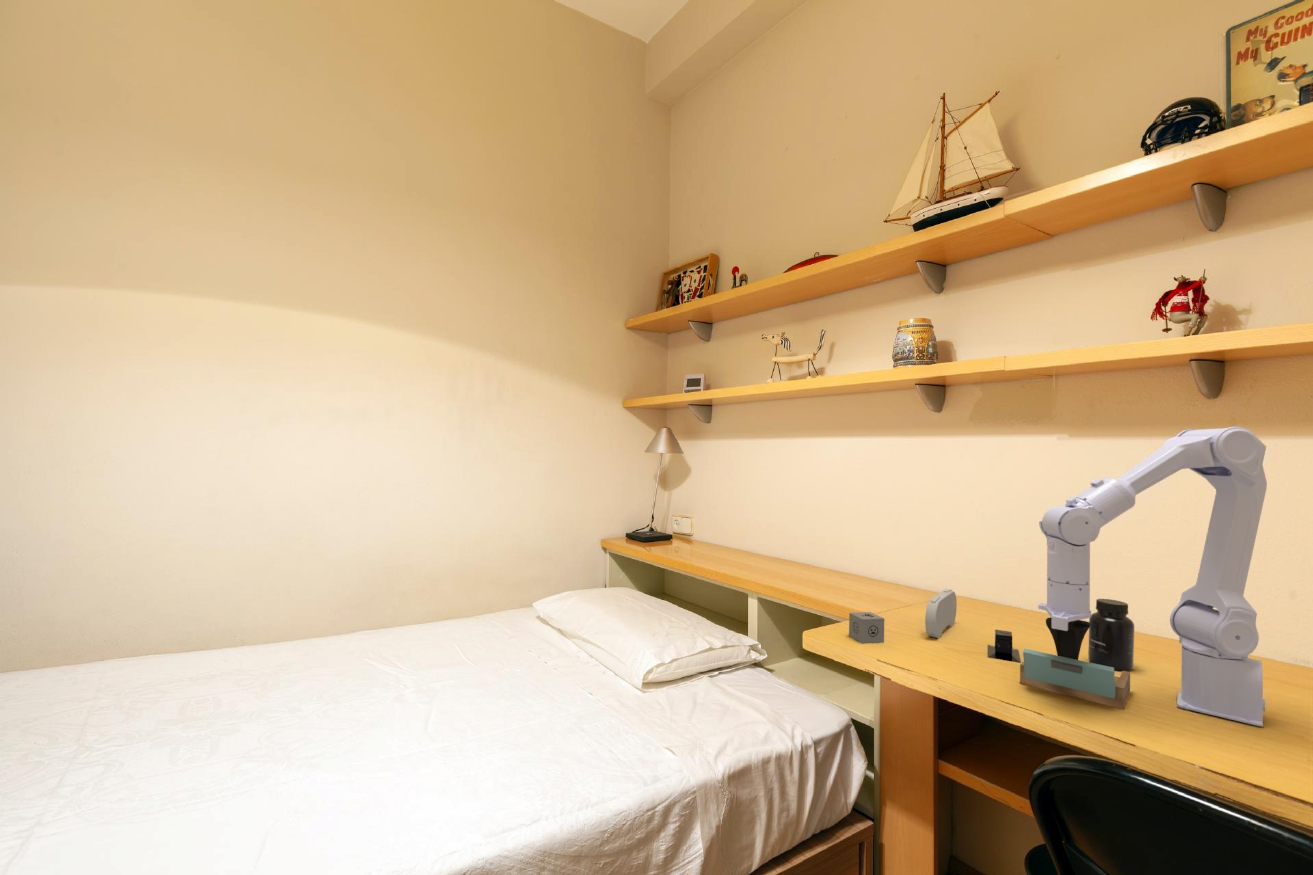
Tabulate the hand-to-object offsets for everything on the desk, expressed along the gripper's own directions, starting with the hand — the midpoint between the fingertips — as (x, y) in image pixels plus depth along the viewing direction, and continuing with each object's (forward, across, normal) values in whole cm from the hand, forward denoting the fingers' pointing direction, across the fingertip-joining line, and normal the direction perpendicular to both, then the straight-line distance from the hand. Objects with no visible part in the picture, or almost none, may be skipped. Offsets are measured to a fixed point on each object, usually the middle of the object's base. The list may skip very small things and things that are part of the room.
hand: (1067, 665), depth 96 cm
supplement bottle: (+6, -26, +3) cm, 26 cm away
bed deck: (+5, -6, 0) cm, 8 cm away
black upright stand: (+6, -18, -13) cm, 23 cm away
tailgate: (+3, -1, 0) cm, 3 cm away
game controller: (+6, -24, -27) cm, 37 cm away
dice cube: (+6, -5, -36) cm, 37 cm away
